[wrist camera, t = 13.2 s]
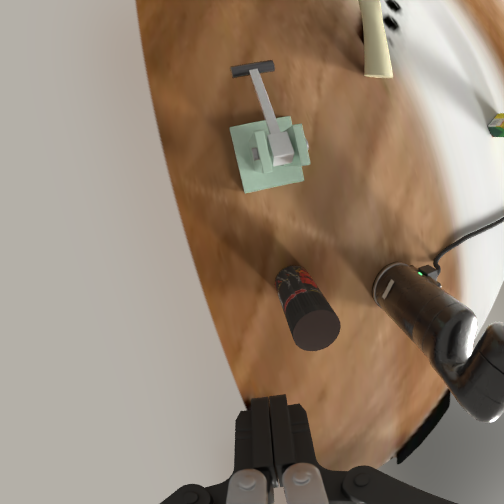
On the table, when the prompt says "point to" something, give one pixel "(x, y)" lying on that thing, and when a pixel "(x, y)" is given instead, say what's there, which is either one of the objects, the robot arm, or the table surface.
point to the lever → (267, 111)
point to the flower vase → (375, 41)
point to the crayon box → (497, 126)
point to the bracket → (258, 159)
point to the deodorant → (306, 309)
